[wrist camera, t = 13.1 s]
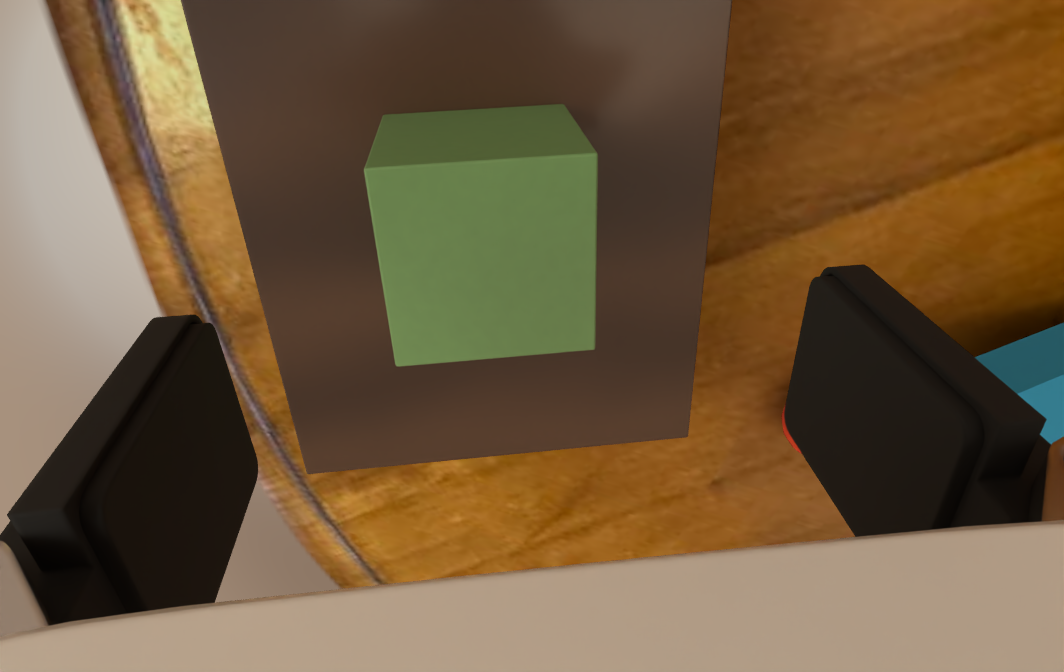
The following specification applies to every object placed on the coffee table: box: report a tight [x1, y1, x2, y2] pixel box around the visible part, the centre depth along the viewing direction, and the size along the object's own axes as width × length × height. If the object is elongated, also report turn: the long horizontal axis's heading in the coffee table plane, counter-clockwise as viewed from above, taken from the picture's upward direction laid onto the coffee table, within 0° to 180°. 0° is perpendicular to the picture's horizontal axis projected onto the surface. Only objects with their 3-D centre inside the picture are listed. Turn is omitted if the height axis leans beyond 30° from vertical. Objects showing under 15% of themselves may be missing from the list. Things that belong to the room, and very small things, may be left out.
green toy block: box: [364, 104, 598, 367], centre depth 18 cm, size 5×5×5 cm
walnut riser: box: [181, 0, 732, 474], centre depth 22 cm, size 20×14×5 cm
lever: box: [782, 323, 1064, 454], centre depth 31 cm, size 7×7×18 cm
